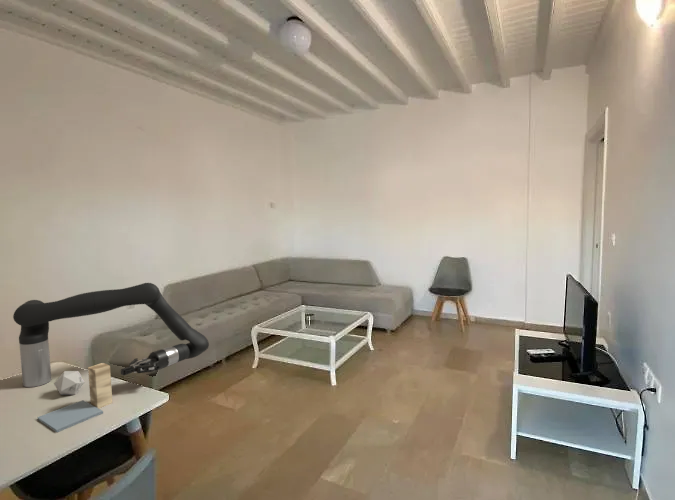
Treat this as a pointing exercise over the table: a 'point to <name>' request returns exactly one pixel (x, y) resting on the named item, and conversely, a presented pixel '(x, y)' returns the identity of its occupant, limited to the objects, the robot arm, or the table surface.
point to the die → (69, 382)
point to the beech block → (100, 385)
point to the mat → (69, 415)
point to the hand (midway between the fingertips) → (121, 372)
